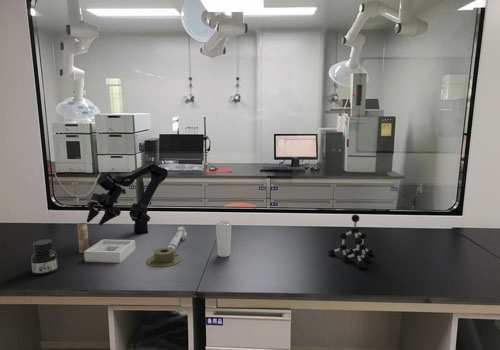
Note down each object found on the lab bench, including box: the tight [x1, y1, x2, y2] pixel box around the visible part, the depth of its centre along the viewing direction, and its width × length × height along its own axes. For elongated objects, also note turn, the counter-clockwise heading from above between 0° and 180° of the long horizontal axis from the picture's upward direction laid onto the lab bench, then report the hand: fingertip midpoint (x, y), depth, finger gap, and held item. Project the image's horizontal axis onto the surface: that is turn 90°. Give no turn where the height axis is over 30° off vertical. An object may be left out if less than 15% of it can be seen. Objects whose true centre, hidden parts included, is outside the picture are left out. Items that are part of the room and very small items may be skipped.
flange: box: [146, 246, 183, 268], centre depth 149 cm, size 5×15×15 cm
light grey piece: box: [166, 226, 187, 253], centre depth 167 cm, size 5×7×25 cm
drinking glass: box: [215, 220, 232, 258], centre depth 154 cm, size 7×7×15 cm
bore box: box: [83, 239, 136, 264], centre depth 155 cm, size 16×16×4 cm
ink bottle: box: [30, 238, 59, 276], centre depth 138 cm, size 10×9×12 cm
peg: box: [76, 222, 90, 254], centre depth 159 cm, size 4×4×13 cm
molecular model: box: [327, 214, 374, 270], centre depth 150 cm, size 18×20×20 cm
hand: (93, 223), depth 163 cm, fingers open, 9 cm apart
